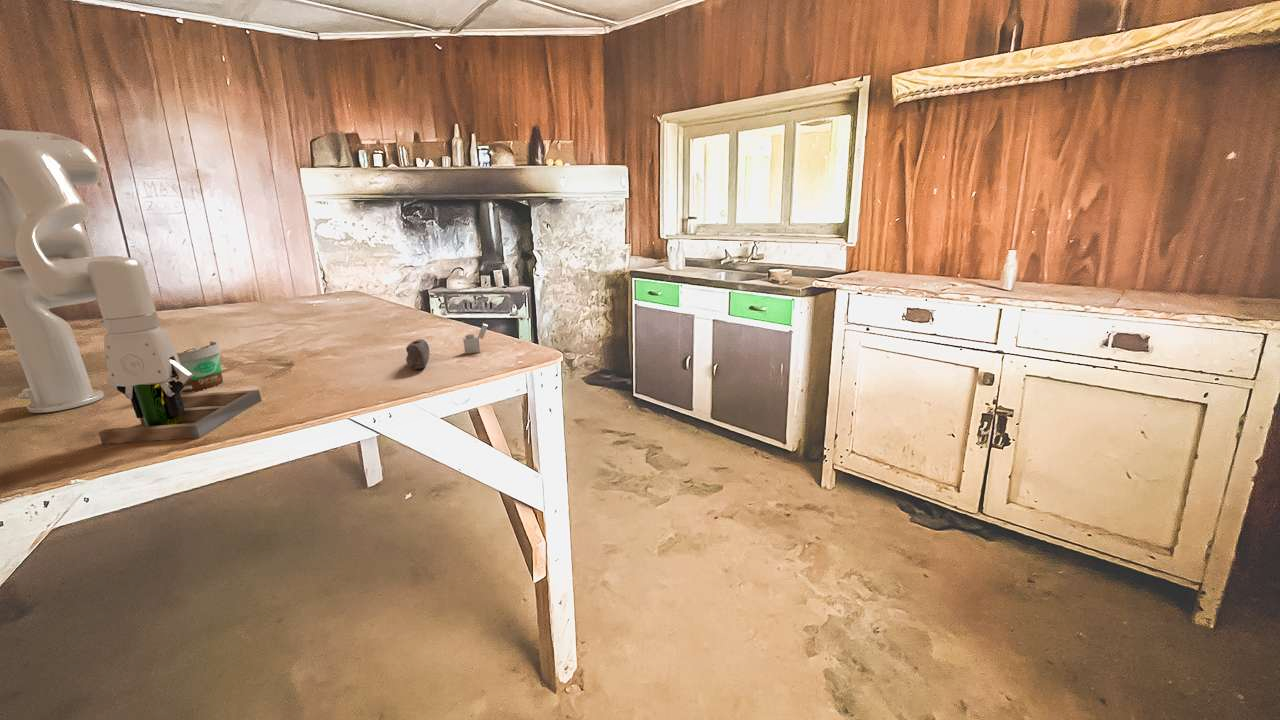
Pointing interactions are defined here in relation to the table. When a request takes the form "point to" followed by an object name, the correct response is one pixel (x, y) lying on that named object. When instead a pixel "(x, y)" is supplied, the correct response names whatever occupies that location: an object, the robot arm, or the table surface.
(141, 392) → the beer can
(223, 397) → the lane rack
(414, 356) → the perforated stone tool
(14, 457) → the table surface
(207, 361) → the food container
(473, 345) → the lighter
